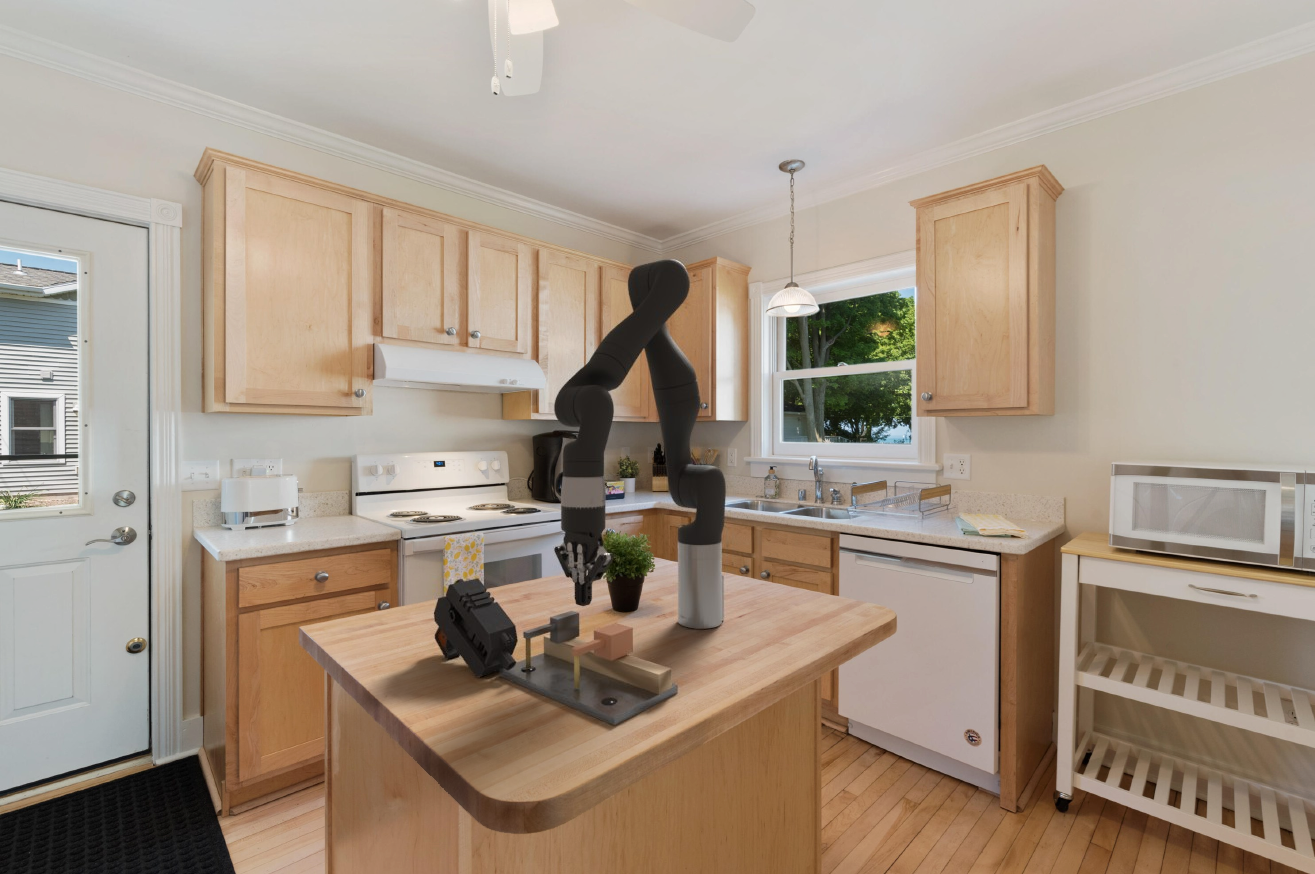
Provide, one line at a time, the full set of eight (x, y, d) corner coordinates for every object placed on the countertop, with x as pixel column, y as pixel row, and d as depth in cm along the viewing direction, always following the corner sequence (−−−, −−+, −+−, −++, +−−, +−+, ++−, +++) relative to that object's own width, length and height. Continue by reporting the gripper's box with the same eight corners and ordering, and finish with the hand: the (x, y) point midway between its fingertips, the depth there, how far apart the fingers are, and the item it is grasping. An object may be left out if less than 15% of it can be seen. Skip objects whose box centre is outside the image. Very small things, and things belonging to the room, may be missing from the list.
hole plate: (563, 652, 114) (563, 645, 114) (677, 692, 96) (677, 684, 96) (498, 675, 103) (498, 668, 103) (614, 725, 86) (614, 716, 86)
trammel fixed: (561, 646, 114) (560, 607, 113) (675, 685, 96) (675, 639, 96) (511, 664, 105) (510, 622, 105) (626, 710, 88) (626, 660, 88)
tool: (452, 630, 118) (474, 568, 113) (506, 705, 107) (534, 639, 102) (422, 639, 113) (444, 574, 108) (476, 718, 103) (503, 650, 98)
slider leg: (615, 663, 104) (615, 622, 104) (633, 669, 102) (632, 627, 102) (565, 684, 96) (565, 640, 96) (583, 691, 93) (583, 645, 93)
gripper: (626, 504, 104) (626, 607, 104) (573, 498, 113) (573, 593, 113) (594, 508, 98) (593, 617, 98) (541, 501, 107) (540, 602, 107)
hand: (583, 604), depth 105 cm, fingers closed
